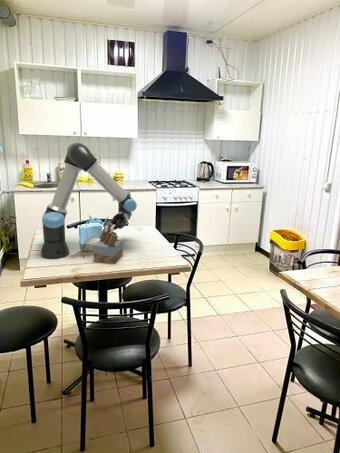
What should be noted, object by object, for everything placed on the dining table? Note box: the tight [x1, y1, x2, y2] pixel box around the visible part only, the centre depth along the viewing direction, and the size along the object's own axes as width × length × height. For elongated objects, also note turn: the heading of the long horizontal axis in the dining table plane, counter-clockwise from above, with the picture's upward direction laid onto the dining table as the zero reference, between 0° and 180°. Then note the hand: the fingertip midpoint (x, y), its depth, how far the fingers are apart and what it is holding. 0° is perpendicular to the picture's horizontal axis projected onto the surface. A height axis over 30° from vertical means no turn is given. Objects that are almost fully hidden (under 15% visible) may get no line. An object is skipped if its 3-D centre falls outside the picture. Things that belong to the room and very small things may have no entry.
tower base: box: [93, 248, 124, 265], centre depth 192 cm, size 12×14×5 cm
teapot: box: [84, 215, 109, 227], centre depth 239 cm, size 15×15×10 cm
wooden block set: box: [99, 222, 119, 247], centre depth 191 cm, size 18×9×10 cm, turn 14°
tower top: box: [92, 238, 124, 256], centre depth 191 cm, size 12×14×5 cm
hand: (108, 229), depth 186 cm, fingers open, 2 cm apart
